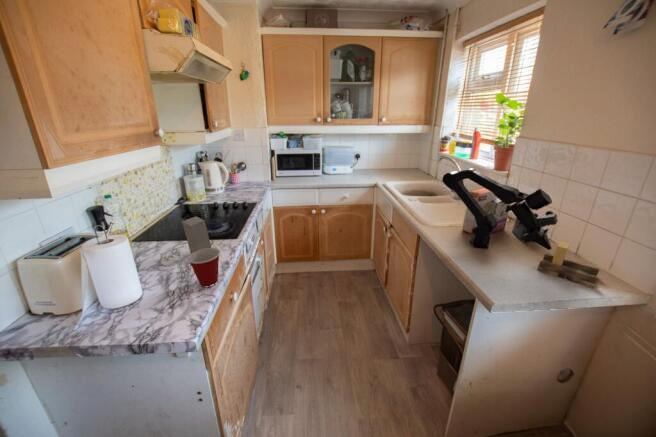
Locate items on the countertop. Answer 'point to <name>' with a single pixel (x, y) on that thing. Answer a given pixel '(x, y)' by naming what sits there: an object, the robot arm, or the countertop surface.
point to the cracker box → (484, 201)
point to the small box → (518, 230)
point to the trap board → (570, 271)
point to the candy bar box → (499, 213)
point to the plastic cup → (205, 265)
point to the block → (560, 253)
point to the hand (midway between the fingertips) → (550, 249)
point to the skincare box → (196, 234)
